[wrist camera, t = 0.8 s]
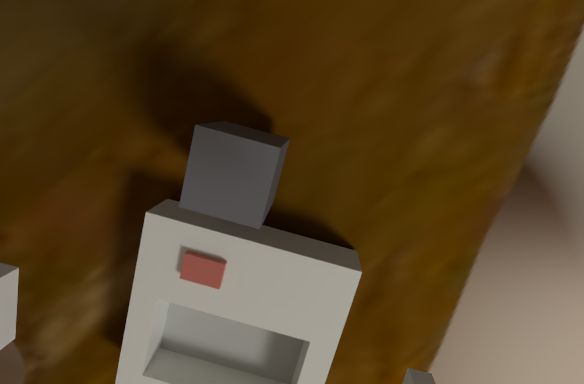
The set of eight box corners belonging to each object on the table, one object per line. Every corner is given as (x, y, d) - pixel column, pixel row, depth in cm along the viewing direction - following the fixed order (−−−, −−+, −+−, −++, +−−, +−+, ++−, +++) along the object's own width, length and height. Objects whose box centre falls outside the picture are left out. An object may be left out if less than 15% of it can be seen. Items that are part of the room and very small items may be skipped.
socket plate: (167, 198, 31) (141, 214, 26) (356, 251, 30) (363, 275, 26) (136, 361, 34) (109, 399, 30) (304, 409, 34) (302, 454, 30)
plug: (228, 119, 29) (195, 124, 21) (291, 136, 29) (280, 148, 21) (215, 181, 30) (178, 206, 22) (275, 197, 30) (259, 229, 22)
